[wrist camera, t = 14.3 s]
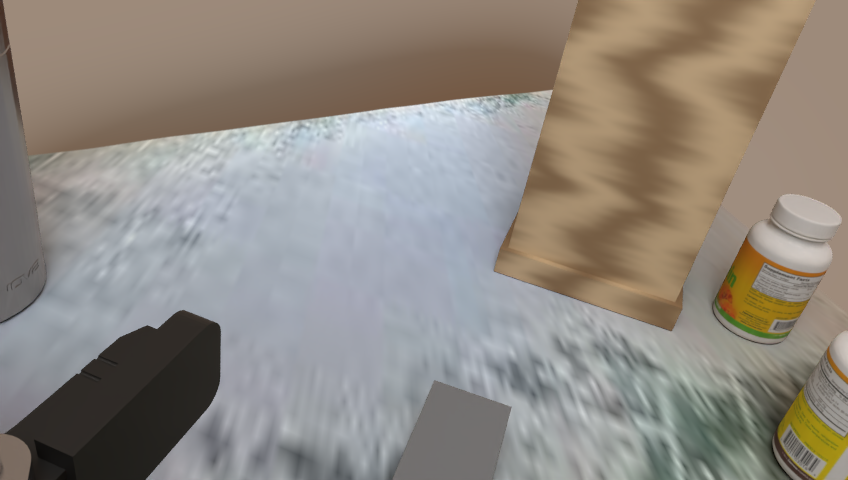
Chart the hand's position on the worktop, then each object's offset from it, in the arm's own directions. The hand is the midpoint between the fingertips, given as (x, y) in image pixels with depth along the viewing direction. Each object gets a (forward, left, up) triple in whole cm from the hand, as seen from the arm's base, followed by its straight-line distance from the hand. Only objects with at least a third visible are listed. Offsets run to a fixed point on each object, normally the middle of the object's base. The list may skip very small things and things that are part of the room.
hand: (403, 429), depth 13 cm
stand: (+4, +39, -18) cm, 43 cm away
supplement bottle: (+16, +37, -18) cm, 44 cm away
